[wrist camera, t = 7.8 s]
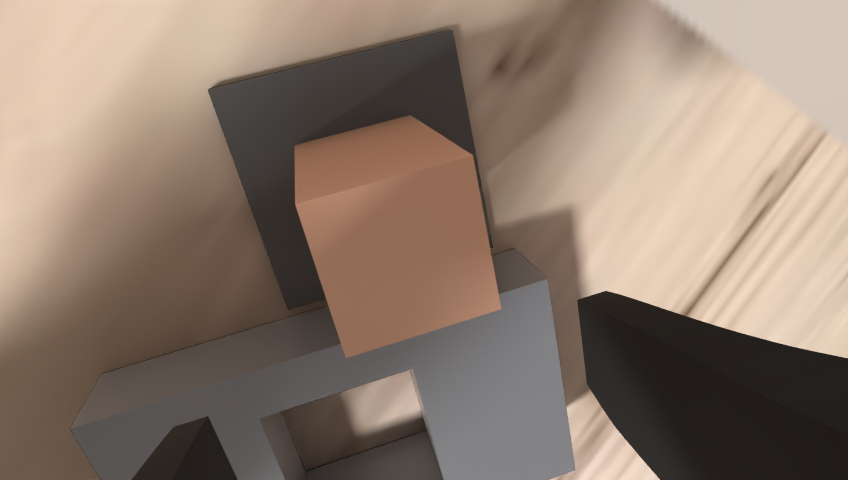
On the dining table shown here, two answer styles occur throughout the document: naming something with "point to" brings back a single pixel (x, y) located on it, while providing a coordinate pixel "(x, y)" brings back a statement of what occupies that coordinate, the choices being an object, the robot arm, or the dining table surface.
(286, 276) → the coaster
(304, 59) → the dining table surface
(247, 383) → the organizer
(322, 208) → the terracotta block
